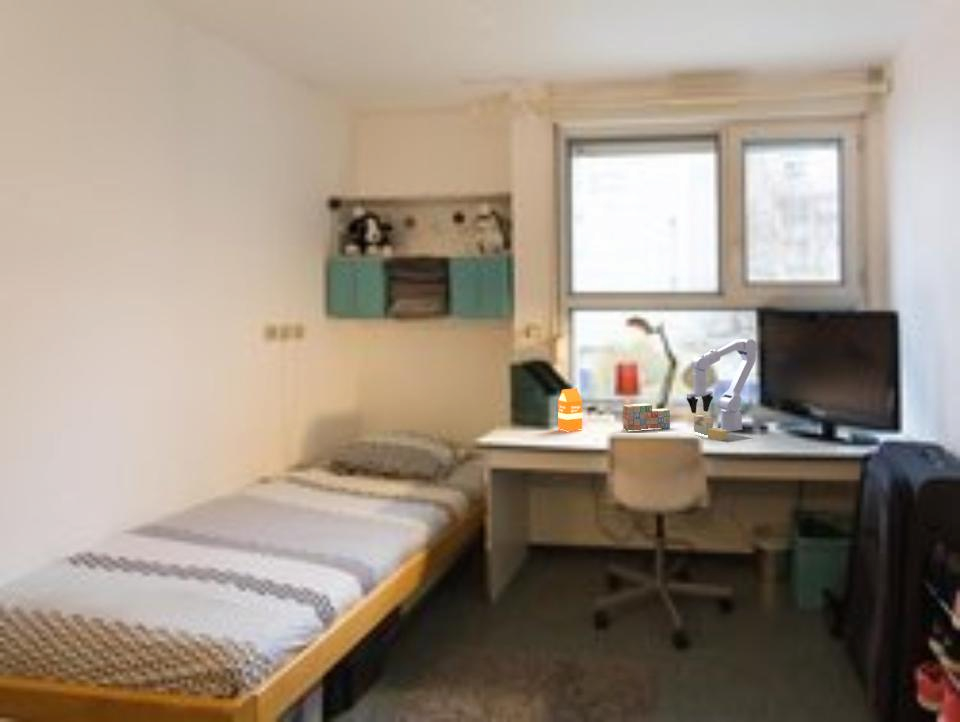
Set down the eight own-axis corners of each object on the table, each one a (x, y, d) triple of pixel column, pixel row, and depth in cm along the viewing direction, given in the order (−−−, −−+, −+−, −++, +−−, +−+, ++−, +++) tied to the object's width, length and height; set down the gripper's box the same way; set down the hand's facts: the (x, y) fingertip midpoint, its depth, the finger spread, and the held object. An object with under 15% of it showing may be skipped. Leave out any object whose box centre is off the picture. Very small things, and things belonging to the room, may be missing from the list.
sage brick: (693, 432, 409) (693, 424, 409) (700, 431, 411) (700, 423, 411) (706, 435, 403) (706, 426, 402) (712, 434, 405) (712, 425, 404)
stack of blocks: (664, 427, 429) (664, 402, 428) (670, 429, 423) (670, 403, 421) (623, 429, 424) (622, 404, 423) (627, 432, 418) (627, 406, 417)
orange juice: (558, 429, 428) (557, 388, 426) (573, 427, 432) (572, 387, 430) (567, 432, 421) (566, 390, 419) (582, 430, 425) (582, 389, 423)
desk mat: (710, 430, 417) (710, 429, 417) (753, 439, 394) (753, 438, 394) (684, 434, 409) (684, 433, 409) (727, 443, 386) (727, 442, 386)
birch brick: (694, 424, 409) (694, 415, 408) (700, 423, 411) (700, 415, 410) (706, 426, 402) (706, 418, 402) (713, 425, 404) (713, 417, 403)
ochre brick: (707, 437, 398) (707, 428, 397) (714, 436, 400) (714, 427, 399) (720, 440, 391) (720, 431, 390) (727, 439, 393) (727, 430, 392)
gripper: (694, 385, 402) (694, 414, 404) (717, 382, 410) (717, 411, 411) (683, 383, 408) (683, 412, 410) (706, 381, 416) (706, 409, 417)
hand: (699, 412), depth 411 cm, fingers open, 7 cm apart
